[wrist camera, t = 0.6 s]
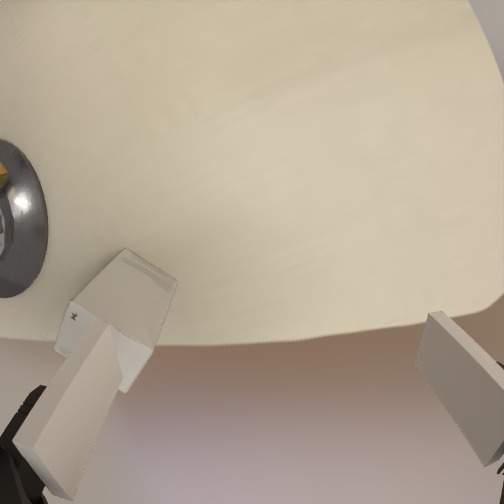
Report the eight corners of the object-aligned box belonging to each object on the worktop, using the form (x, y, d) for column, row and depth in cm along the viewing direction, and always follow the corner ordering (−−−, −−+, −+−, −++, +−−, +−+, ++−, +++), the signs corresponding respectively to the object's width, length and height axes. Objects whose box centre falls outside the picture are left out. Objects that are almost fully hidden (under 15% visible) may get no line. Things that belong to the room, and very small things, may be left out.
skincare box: (105, 284, 39) (47, 348, 24) (126, 243, 37) (66, 296, 22) (158, 318, 40) (124, 397, 25) (183, 280, 39) (153, 352, 24)
